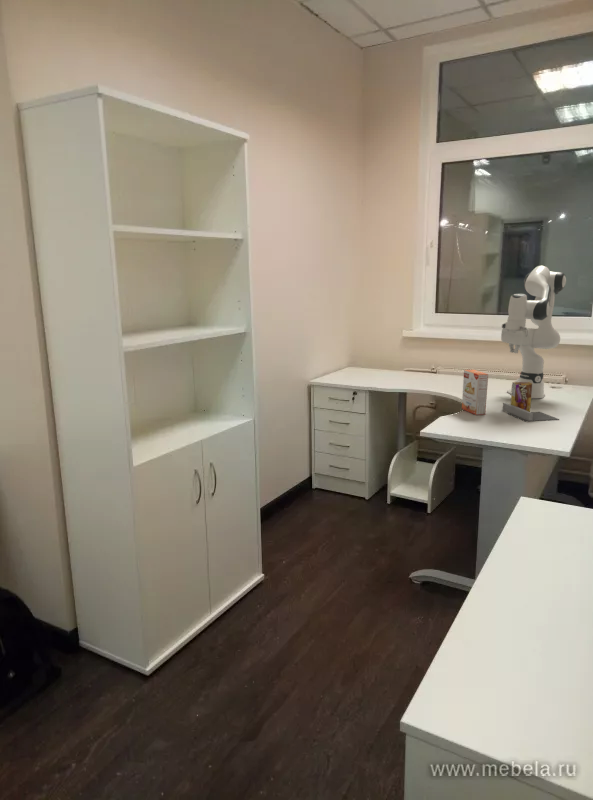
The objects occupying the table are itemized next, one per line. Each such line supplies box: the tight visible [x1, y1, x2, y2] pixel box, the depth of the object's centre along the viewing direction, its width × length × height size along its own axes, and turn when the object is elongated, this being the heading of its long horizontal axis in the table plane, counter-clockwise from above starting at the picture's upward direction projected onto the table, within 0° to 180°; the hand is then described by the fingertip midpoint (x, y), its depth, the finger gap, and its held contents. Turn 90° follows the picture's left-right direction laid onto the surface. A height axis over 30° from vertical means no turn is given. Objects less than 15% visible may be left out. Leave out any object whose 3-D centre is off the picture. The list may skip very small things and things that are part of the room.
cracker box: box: [461, 369, 489, 416], centre depth 289 cm, size 14×6×21 cm, turn 13°
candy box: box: [510, 381, 532, 412], centre depth 291 cm, size 9×4×15 cm, turn 96°
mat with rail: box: [502, 402, 560, 422], centre depth 285 cm, size 23×18×4 cm
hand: (513, 352), depth 296 cm, fingers closed
